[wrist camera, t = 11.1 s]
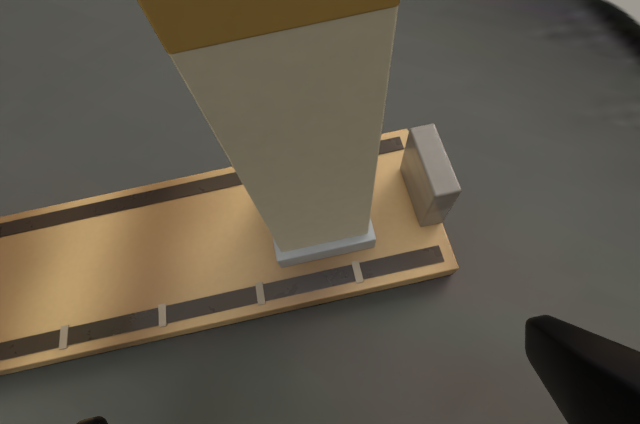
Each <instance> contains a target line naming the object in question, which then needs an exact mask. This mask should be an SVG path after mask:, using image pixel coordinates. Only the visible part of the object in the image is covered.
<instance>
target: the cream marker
mask: <svg viewBox="0 0 640 424" xmlns="http://www.w3.org/2000/svg"><path fill="white" fill-rule="evenodd" d="M137 1H138V3H139V5H140V7H141V8H142V10H143V12H144V14H145V15H146V17H147V19H148V21H149V22H150V24H151V26H152V28H153V29H154V31H155V33H156V34H157V36H158V38H159V40H160V41H161V43H162V45H163V47H164V48H165V50H166V52H167V53H168V54H169V55H170V57H171V59H172V61H173V62H174V64H175V66H176V68H177V70H178V71H179V73H180V75H181V77H182V78H183V80H184V82H185V84H186V85H187V87H188V89H189V91H190V92H191V94H192V96H193V98H194V99H195V101H196V103H197V105H198V106H199V108H200V110H201V112H202V113H203V115H204V117H205V119H206V120H207V122H208V124H209V126H210V127H211V129H212V131H213V133H214V134H215V136H216V138H217V140H218V141H219V143H220V145H221V147H222V148H223V150H224V152H225V154H226V155H227V157H228V159H229V161H230V163H231V164H232V166H233V168H234V170H235V171H236V173H237V175H238V177H239V178H240V180H241V182H242V184H243V185H244V187H245V189H246V191H247V192H248V194H249V196H250V198H251V199H252V201H253V203H254V205H255V206H256V208H257V210H258V212H259V213H260V215H261V217H262V219H263V220H264V222H265V224H266V226H267V227H268V229H269V231H270V233H271V234H272V236H273V242H274V248H275V255H276V261H277V262H278V264H279V265H280V267H282V268H283V267H287V266H292V265H296V264H301V263H305V262H310V261H314V260H319V259H323V258H328V257H332V256H337V255H341V254H346V253H350V252H355V251H359V250H364V249H368V248H373V247H375V242H376V236H375V233H374V229H373V226H372V222H371V219H370V214H371V207H372V199H373V192H374V184H375V177H376V169H377V162H378V154H379V147H380V139H381V132H382V124H383V117H384V110H385V102H386V95H387V87H388V80H389V72H390V65H391V57H392V50H393V42H394V35H395V27H396V20H397V12H398V5H399V3H400V0H137Z"/></svg>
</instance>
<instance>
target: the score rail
mask: <svg viewBox="0 0 640 424" xmlns="http://www.w3.org/2000/svg"><path fill="white" fill-rule="evenodd" d="M460 193H461V187H460V185H459V183H458V180H457V178H456V175H455V173H454V171H453V168H452V166H451V163H450V161H449V158H448V156H447V154H446V151H445V149H444V146H443V144H442V141H441V139H440V137H439V134H438V132H437V129H436V127H435V125H434V124H428V125H423V126H419V127H414V128H411V129H409V132H408V130H407V129H403V130H398V131H394V132H389V133H385V134H381V139H380V147H379V154H378V162H377V169H376V177H375V184H374V192H373V199H372V207H371V214H370V219H371V222H372V226H373V229H374V233H375V236H376V242H375V247H373V248H368V249H364V250H359V251H355V252H350V253H346V254H341V255H337V256H332V257H328V258H323V259H319V260H314V261H310V262H305V263H301V264H296V265H292V266H287V267H283V268H282V267H280V265H279V264H278V262H277V261H276V255H275V248H274V242H273V236H272V234H271V233H270V231H269V229H268V227H267V226H266V224H265V222H264V220H263V219H262V217H261V215H260V213H259V212H258V210H257V208H256V206H255V205H254V203H253V201H252V199H251V198H250V196H249V194H248V192H247V191H246V189H245V187H244V185H243V184H242V182H241V180H240V178H239V177H238V175H237V173H236V171H235V170H234V168H233V167H228V168H224V169H219V170H214V171H210V172H205V173H201V174H196V175H192V176H187V177H182V178H178V179H173V180H169V181H164V182H159V183H155V184H150V185H146V186H141V187H136V188H132V189H127V190H123V191H118V192H113V193H109V194H104V195H100V196H95V197H90V198H86V199H81V200H77V201H72V202H67V203H63V204H58V205H54V206H49V207H44V208H40V209H35V210H31V211H26V212H21V213H17V214H12V215H8V216H3V217H0V376H1V375H5V374H10V373H14V372H19V371H23V370H28V369H32V368H37V367H41V366H45V365H50V364H54V363H59V362H63V361H68V360H72V359H77V358H81V357H86V356H90V355H95V354H99V353H103V352H108V351H112V350H117V349H121V348H126V347H130V346H135V345H139V344H144V343H148V342H153V341H157V340H162V339H166V338H170V337H175V336H179V335H184V334H188V333H193V332H197V331H202V330H206V329H211V328H215V327H220V326H224V325H228V324H233V323H237V322H242V321H246V320H251V319H255V318H260V317H264V316H269V315H273V314H278V313H282V312H286V311H291V310H295V309H300V308H304V307H309V306H313V305H318V304H322V303H327V302H331V301H336V300H340V299H345V298H349V297H353V296H358V295H362V294H367V293H371V292H376V291H380V290H385V289H389V288H394V287H398V286H403V285H407V284H411V283H416V282H420V281H425V280H429V279H434V278H438V277H443V276H447V275H452V274H453V273H454V272H455V271H456V270H458V269H459V266H458V264H457V261H456V258H455V256H454V253H453V250H452V248H451V245H450V242H449V240H448V237H447V234H446V232H445V229H444V226H443V224H442V222H443V220H444V219H445V217H446V215H447V214H448V212H449V211H450V209H451V207H452V206H453V204H454V202H455V201H456V199H457V198H458V196H459V194H460Z"/></svg>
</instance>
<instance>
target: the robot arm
mask: <svg viewBox="0 0 640 424" xmlns="http://www.w3.org/2000/svg"><path fill="white" fill-rule="evenodd" d="M525 350H526V354H527V357H528V359H529V361H530V363H531V365H532V366H533V368H534V369H535V371H536V373H537V374H538V376H539V377H540V379H541V381H542V382H543V384H544V385H545V387H546V389H547V390H548V392H549V393H550V395H551V397H552V398H553V400H554V402H555V403H556V405H557V406H558V408H559V410H560V411H561V413H562V414H563V416H564V418H565V419H566V421H567V422H568V424H640V352H639V351H636V350H634V349H631V348H629V347H626V346H624V345H621V344H619V343H616V342H614V341H611V340H609V339H606V338H604V337H601V336H599V335H597V334H594V333H592V332H589V331H587V330H584V329H582V328H579V327H577V326H574V325H572V324H569V323H567V322H564V321H562V320H559V319H557V318H554V317H552V316H549V315H542V316H537V317H533V318H529V319H528V320H527V321H526V325H525ZM77 424H108V423H107V421H106V419H105V418H103V417H101V416H97V417H93V418H88V419H84V420H81V421H79V422H78V423H77Z"/></svg>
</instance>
